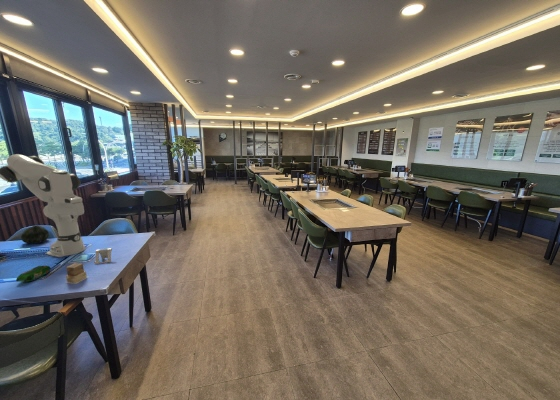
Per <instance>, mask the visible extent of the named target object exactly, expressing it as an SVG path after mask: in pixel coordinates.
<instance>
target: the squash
mask: <svg viewBox="0 0 560 400" xmlns="http://www.w3.org/2000/svg"><path fill="white" fill-rule="evenodd" d="M49 236H50V233H49V231H48V230H47V229H46V228H45V227H43V226H40V225H33V226H30V227H28V228H26V229H25V230H24V231H23V232H22V233H21V236H20V239H21V241H22V242H23V243H25V244H34V243H36V244H40V243H43V242H45V241H46V240H47V239H48V238H49Z"/></svg>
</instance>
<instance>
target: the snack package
mask: <svg viewBox="0 0 560 400" xmlns="http://www.w3.org/2000/svg"><path fill="white" fill-rule="evenodd" d="M50 271H51V267H50V266H49V265H37V266H36V267H33V268H31V269H29V270H27V271H23V272H22V273H21V274H19V275H18V276H17V277H16V282H20V283H21V282H22V283H25V282H33V281H34V280H37V279H39V278H41V277H43V276H44V275H46V274H48V273H49V272H50Z"/></svg>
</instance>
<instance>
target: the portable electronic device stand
mask: <svg viewBox="0 0 560 400" xmlns="http://www.w3.org/2000/svg"><path fill="white" fill-rule="evenodd" d="M112 251H113V248H104V249H103V248H102V249H101V248H100V249H96V250H95V254H94V255H95V259H94V260H95V261H94V263H93V264H94V265H99V264H110V263H112ZM100 258H101V260H102V261H100ZM105 259H107V260H105ZM103 260H104V261H103Z"/></svg>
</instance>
